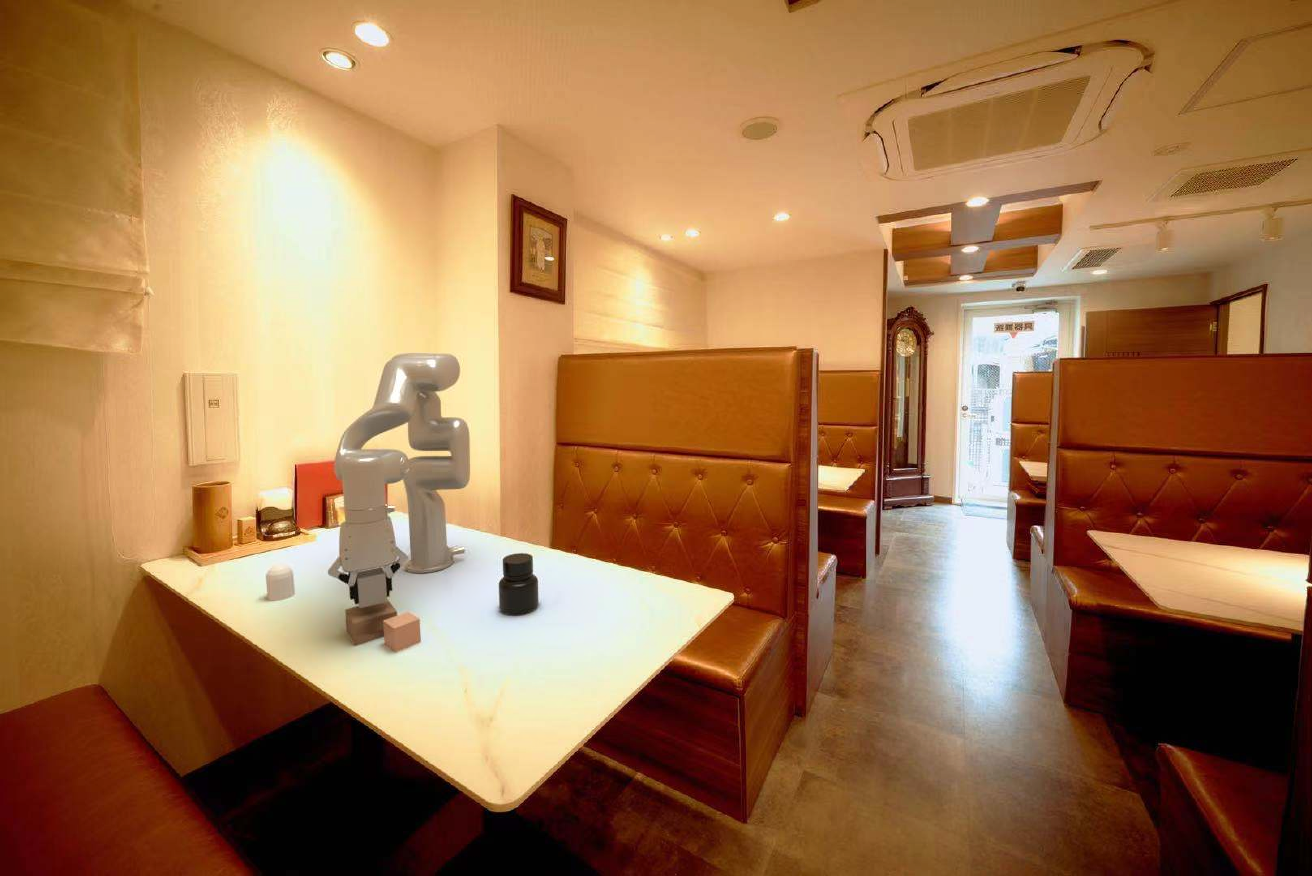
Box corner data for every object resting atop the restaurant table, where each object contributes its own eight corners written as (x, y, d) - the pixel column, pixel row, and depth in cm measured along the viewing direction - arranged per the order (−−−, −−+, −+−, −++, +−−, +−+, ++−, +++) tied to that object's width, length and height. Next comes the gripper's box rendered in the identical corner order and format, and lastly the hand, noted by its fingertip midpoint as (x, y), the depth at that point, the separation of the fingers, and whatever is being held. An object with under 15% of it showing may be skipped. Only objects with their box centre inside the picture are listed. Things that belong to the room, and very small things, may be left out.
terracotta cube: (409, 634, 104) (408, 611, 103) (420, 642, 101) (419, 618, 100) (384, 644, 100) (382, 620, 99) (395, 652, 97) (394, 628, 96)
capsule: (280, 601, 118) (277, 570, 117) (262, 599, 119) (258, 568, 118) (300, 592, 123) (297, 561, 122) (282, 590, 124) (279, 560, 123)
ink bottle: (523, 594, 122) (521, 548, 121) (547, 604, 117) (546, 556, 116) (490, 609, 114) (488, 560, 113) (514, 620, 109) (513, 569, 108)
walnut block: (388, 619, 110) (386, 598, 109) (398, 633, 104) (396, 611, 103) (346, 631, 105) (344, 609, 104) (354, 647, 99) (353, 623, 98)
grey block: (383, 593, 107) (381, 567, 107) (387, 601, 103) (385, 574, 103) (356, 599, 104) (355, 572, 104) (359, 608, 100) (357, 580, 100)
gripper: (407, 504, 110) (412, 582, 112) (315, 517, 100) (322, 602, 102) (414, 512, 104) (419, 594, 106) (317, 526, 94) (324, 616, 96)
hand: (371, 597), depth 104 cm, fingers closed on grey block, 5 cm apart
